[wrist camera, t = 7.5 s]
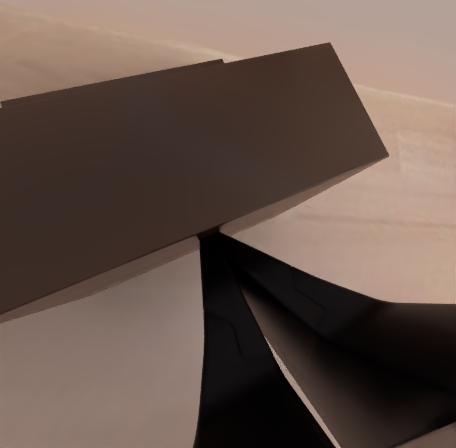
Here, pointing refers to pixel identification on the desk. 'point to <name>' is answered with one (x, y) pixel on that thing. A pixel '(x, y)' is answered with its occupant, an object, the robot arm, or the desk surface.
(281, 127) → the walnut bookend
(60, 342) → the desk surface
